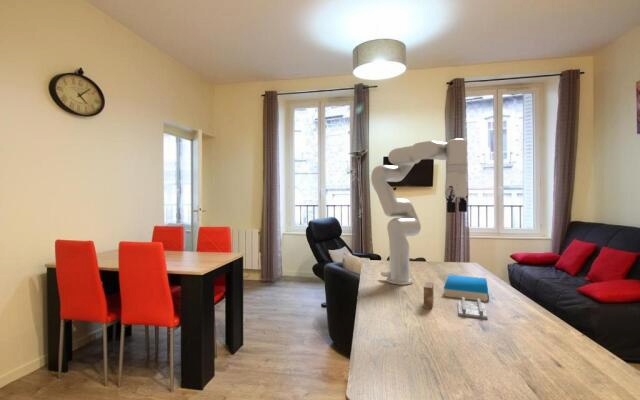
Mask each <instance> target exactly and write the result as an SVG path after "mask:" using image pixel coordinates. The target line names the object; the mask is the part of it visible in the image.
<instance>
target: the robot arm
mask: <svg viewBox="0 0 640 400" xmlns="http://www.w3.org/2000/svg"><path fill="white" fill-rule="evenodd" d="M467 156H468V155H467V141H466V139H464V138H453V139H448V140H447V142H446V141H444V142H443V141H436V140H426V141H421V142H415V143H414V144H413V145H408V146H402V147H396V148H393V149H392V150H390V151H389V153H388V156H387V157H388V161H389V162H390V163H391V164H392V165H388V164H380V165H377V166H375V167H374V168H373V170H372V171H371V176H370V180H371V184H372V186H373V189H374V191H375V193H376V195H377V197H378V200H379V203H380V206H381V208H382V210H383V213H384V215H385V216H387V217H388V218H392V219H390V220H389V221H388V223H387V226H386V228H387V229H386V230H387V234H388V235H387V236H388V241H389V242H388V245H389V248H388V249H389V271H387V272H386V271H381V272H380V276H381V277H385V278H386V282H387V283H388V284H393V285H399V286H404V285H405V286H407V285H410V284H412V283H413V281H414V280H413V279H412V278H410V245H409V241H408V240H407V237H414V236H418V234H420V232H421V227H422V226H421V222H420V220H419V216H418V214H417V212H416V210H415V208H414V205H413V203H412V202H411V201H410V200H409V199H406V198H398V197H397V195H396V193H395V190H394V189H393V187H392V186H391V185H390V184H389V183H390V182H391V183H393V182H394V183H398V182H401V181H403V179H404V178H405V177H406V176H407V175H408V174H409V173H410V171H411V170H412V168H413V167H414V166H415V164H419V163H420V162H421V160H438V161H446V174H445V175H446V176H445V189H444V196H445V199H446V202H445V203H446V212H447V213H448V214H449V213H456V209H457V207H456V201H455V200H456V199H457V198H458V212H459V213H467V212H468V195H469V191H468V182H467V181H468V180H467V173H468V167H467V166H468V165H467V164H468V162H467V161H468V159H467V158H468V157H467ZM388 182H389V183H388Z"/></svg>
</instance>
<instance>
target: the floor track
mask: <svg viewBox="0 0 640 400" xmlns="http://www.w3.org/2000/svg"><path fill="white" fill-rule="evenodd" d="M457 301H458V302H457V304H458V305H457V307H458V309H457V310H458V316H459V317H464V318H465V317H467V318H473V319H474V318H475V319H482V320H488V314H487V310H486V305H485V303H484V302H482V300H480V299H478V298H477V300H476V301H469V300H466V298H465V297H462V298H461V300H460V299H459V300H457Z"/></svg>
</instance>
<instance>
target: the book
mask: <svg viewBox="0 0 640 400" xmlns="http://www.w3.org/2000/svg"><path fill="white" fill-rule="evenodd" d="M443 289H444V297H452V298H460V299H462V297H465V300H467V299H469V300H476V301H477V298H478V299H480V301H483V302H484V301H485V302H488V301H489V300H490V295H489V287H488V280H487V278H485V277H475V276H463V275H453V274H448V275H447V278H446V281H445V284H444V286H443Z"/></svg>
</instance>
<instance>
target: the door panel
mask: <svg viewBox="0 0 640 400" xmlns="http://www.w3.org/2000/svg"><path fill="white" fill-rule="evenodd" d="M434 297H435V296H434V282H430V281H429V282H428V281H425V282H424V285H423V309H428V310H433V306H434Z"/></svg>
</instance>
